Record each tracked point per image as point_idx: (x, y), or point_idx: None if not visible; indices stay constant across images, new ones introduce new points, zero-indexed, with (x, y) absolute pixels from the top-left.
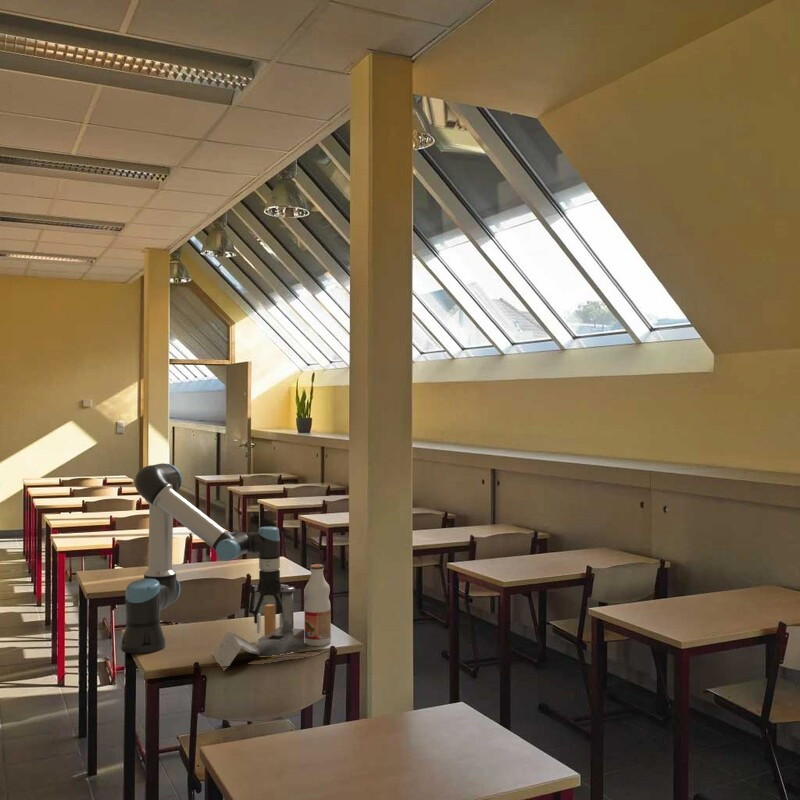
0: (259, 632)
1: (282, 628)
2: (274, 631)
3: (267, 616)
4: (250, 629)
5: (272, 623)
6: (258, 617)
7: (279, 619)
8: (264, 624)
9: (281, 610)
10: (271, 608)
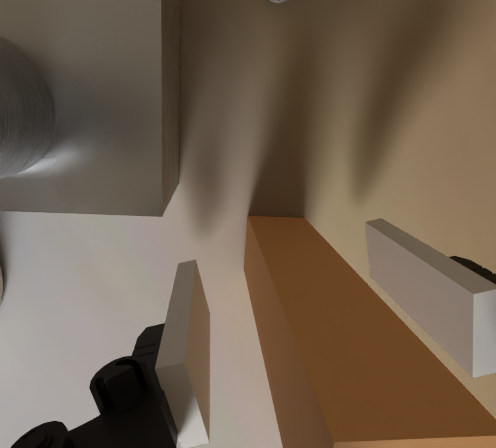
0: (367, 235)
1: (10, 52)
2: (123, 18)
3: (349, 312)
4: None
5: (267, 283)
6: (458, 280)
7: (188, 326)
8: (350, 266)
9: (145, 433)
10: (324, 401)
